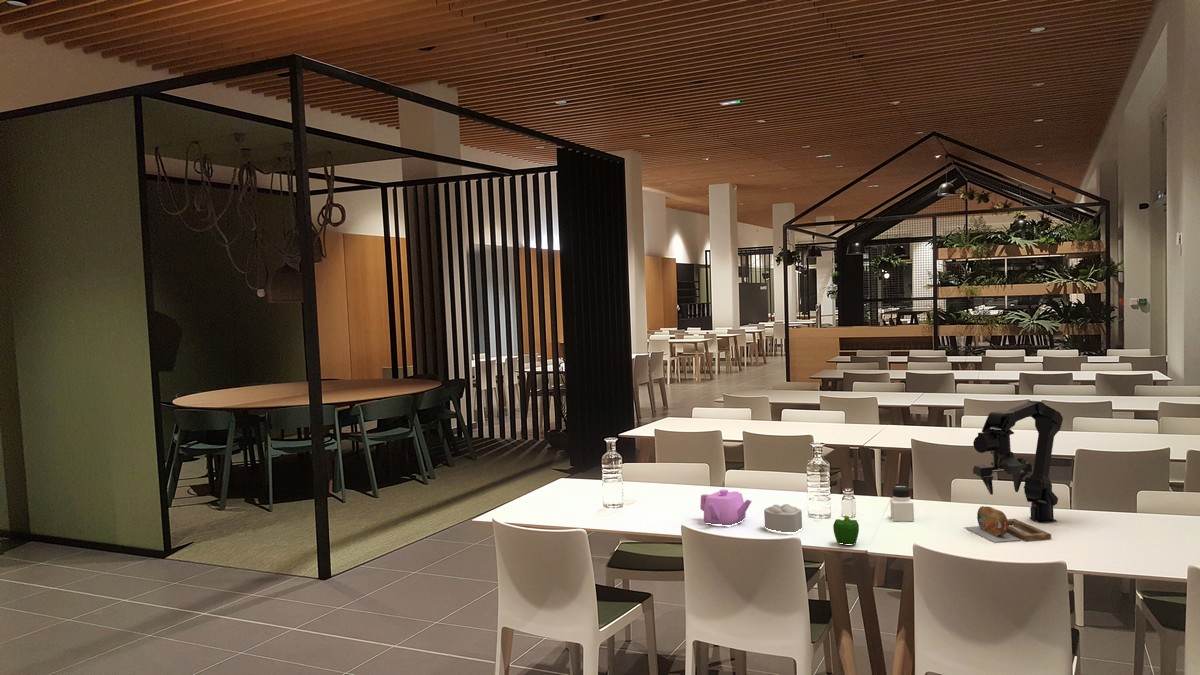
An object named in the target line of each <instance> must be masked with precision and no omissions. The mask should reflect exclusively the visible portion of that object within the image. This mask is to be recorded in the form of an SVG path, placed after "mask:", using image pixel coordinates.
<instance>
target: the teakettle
mask: <svg viewBox="0 0 1200 675" xmlns="http://www.w3.org/2000/svg"><path fill="white" fill-rule="evenodd" d="M751 504H752V500H750V499H745V501H744V497H743V493H742V492H739V491H728V489H725V488H724V489H720V490H718V491H716V492H714V493H711V494H701V495H700V508H699V509H700V510H701V511H702V512H703V521H704V524H705V523H711V524H722V525H732V524H735V523H738V522H740V521H742V520H743V519H744V518H745V519H746V515H747V514H746V512H747V510H748V509H749V507H750V505H751Z"/></svg>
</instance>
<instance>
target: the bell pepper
mask: <svg viewBox="0 0 1200 675" xmlns="http://www.w3.org/2000/svg"><path fill="white" fill-rule="evenodd" d="M832 528H833V535H834V538H835V540H836V542H837V543H843V544H854V543H855V544H856V543H857V540H858V536H859V530H860V524H859V523H858V521H857V519H850V517H849V515H844V518H843V519H840V518H837V519H835V520H834V523H833V525H832ZM843 544H842V545H843ZM855 544H854V545H855Z"/></svg>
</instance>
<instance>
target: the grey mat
mask: <svg viewBox="0 0 1200 675" xmlns="http://www.w3.org/2000/svg"><path fill="white" fill-rule="evenodd" d="M965 528H966V529H965ZM963 529H965V530H967V531H969V532H971V533H973V534H975V535H977V536H980V537H982V538H983V537H984V538H983V539H986V540H987V539H988V541H989V540H990V541H989V542H991V541H992V542H991V543H993V542H994V543H993V544H997V543H998V544H999V543H1010V542H1011V543H1012V542H1021V541H1022V540H1021V539H1019V538H1016V537H1014V536H1012V535H1010V534H1008V533H1006V534H1005V535H1003V536H994V535H992V534H990V533H988V532H985V531H983V530H982V529H981V528H980V526H979V525H978V526H977V525H975V526H965V527H964V528H963Z"/></svg>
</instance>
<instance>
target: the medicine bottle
mask: <svg viewBox="0 0 1200 675" xmlns="http://www.w3.org/2000/svg"><path fill="white" fill-rule="evenodd" d="M889 501H890V502H889V503H890V517H891V519H892V521H893V522H894V521H913V522H914V521H915V514H914V512H915V511H914V502H913V500H912V499H911V489H910V488H909V487H907V486H905V485H903V486H902V485H900V486H899V485H898V486H895V487H893V488H892V497H891V498H890V499H889Z"/></svg>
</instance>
